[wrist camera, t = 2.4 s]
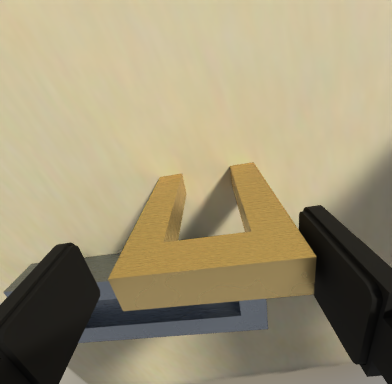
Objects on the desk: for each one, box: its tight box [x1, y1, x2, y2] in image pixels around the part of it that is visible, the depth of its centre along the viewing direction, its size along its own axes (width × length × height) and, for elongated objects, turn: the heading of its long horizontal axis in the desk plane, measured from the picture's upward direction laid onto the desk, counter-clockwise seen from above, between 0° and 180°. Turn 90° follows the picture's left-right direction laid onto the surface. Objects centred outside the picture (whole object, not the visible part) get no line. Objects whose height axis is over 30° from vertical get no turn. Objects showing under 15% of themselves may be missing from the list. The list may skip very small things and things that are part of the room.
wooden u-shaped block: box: [108, 162, 317, 311], centre depth 11 cm, size 7×2×9 cm, turn 100°
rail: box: [4, 253, 268, 343], centre depth 19 cm, size 20×7×3 cm, turn 100°
